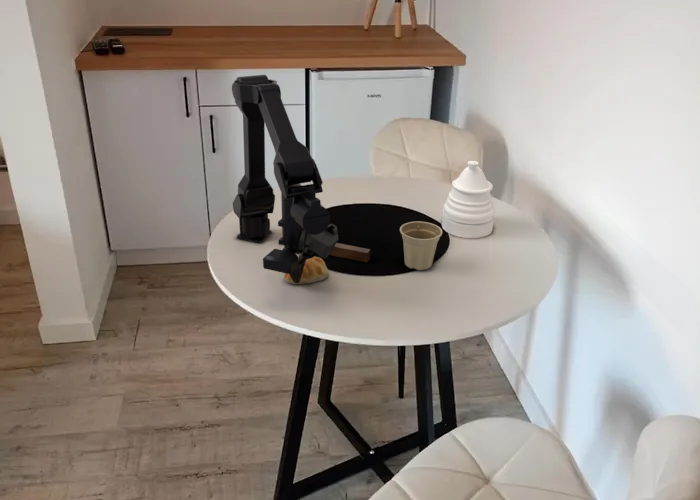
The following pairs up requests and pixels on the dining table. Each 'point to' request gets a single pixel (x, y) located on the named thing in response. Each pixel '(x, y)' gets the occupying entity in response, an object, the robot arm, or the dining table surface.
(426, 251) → the flower pot
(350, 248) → the strip
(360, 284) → the dining table surface
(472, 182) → the honey pot
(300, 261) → the robot arm
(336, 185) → the dining table surface
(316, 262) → the pastry
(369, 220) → the dining table surface
